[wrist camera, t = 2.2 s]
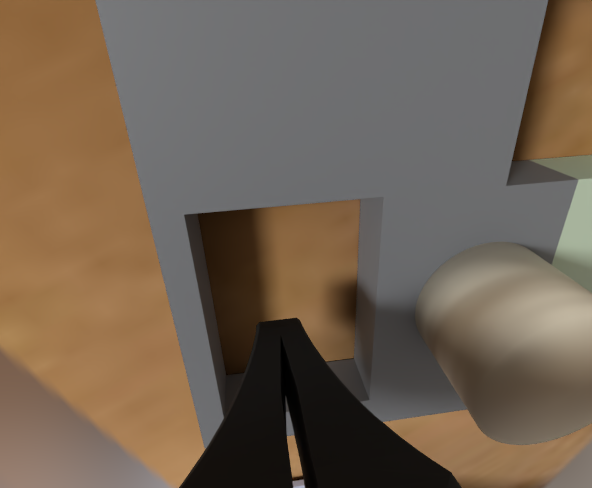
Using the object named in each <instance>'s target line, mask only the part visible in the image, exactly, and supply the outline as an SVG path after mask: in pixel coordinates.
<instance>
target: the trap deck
mask: <svg viewBox="0 0 592 488" xmlns="http://www.w3.org/2000/svg"><path fill="white" fill-rule="evenodd" d="M96 4H97V9H98V13H99V17H100V21H101V25H102V29H103V33H104V37H105V41H106V45H107V50H108V54H109V58H110V62H111V66H112V70H113V74H114V78H115V82H116V86H117V90H118V95H119V99H120V103H121V107H122V111H123V115H124V119H125V123H126V127H127V131H128V136H129V140H130V144H131V148H132V152H133V156H134V160H135V164H136V168H137V172H138V177H139V181H140V185H141V189H142V193H143V197H144V201H145V205H146V209H147V213H148V218H149V222H150V226H151V230H152V234H153V238H154V242H155V246H156V250H157V254H158V259H159V263H160V267H161V271H162V275H163V279H164V283H165V287H166V291H167V295H168V299H169V304H170V308H171V312H172V316H173V320H174V324H175V328H176V332H177V336H178V340H179V345H180V349H181V353H182V357H183V361H184V365H185V369H186V373H187V377H188V381H189V386H190V390H191V394H192V398H193V402H194V406H195V410H196V414H197V418H198V422H199V427H200V431H201V435H202V439H203V443H204V447H205V448H207V446H208V445H209V443H210V442H211V440H212V438H213V436H214V435H215V433H216V431H217V430H218V428H219V426H220V424H221V423H222V421H223V419H224V417H225V415H226V413H227V411H228V409H229V407H230V405H231V403H232V401H233V399H234V397H235V394H236V392H237V390H238V387H239V385H240V382H241V380H242V378H243V375H244V373H240V374H232V375H226V372H225V366H224V360H223V355H222V349H221V343H220V338H219V332H218V327H217V321H216V315H215V310H214V304H213V298H212V293H211V287H210V281H209V276H208V270H207V264H206V259H205V253H204V248H203V242H202V236H201V231H200V225H199V219H198V214H197V213H208V212H219V211H230V210H241V209H253V208H264V207H275V206H286V205H298V204H309V203H320V202H331V201H343V200H354V199H360V224H359V249H358V274H357V299H356V324H355V349H354V359H347V360H339V361H332V362H326V363H327V365H328V366H329V367H330V368H331V370H332V371H333V372H334V373H335V375H336V376H337V377H338V378H339V379H340V381H341V382H342V383H343V384H344V385H345V386H346V387H347V388H348V390H349V391H350V392H351V393H352V394H353V395H354V396H355V397H356V398H357V399H358V400H359V401H360V402H361V403H362V404H363V405H364V406H365V407H366V408H367V409H368V410H369V411H370V412H371V413H373V414H374V415H375V416H376V417H377V418H378V419H379V420H381V421H382V422H385V421H392V420H398V419H405V418H412V417H419V416H425V415H432V414H439V413H446V412H452V411H459V410H466V409H467V408H466V406H465V405H464V403H463V402H462V400H461V398H460V397H459V395H458V394H457V392H456V391H455V389H454V387H453V386H452V384H451V383H450V381H449V379H448V378H447V376H446V375H445V373H444V371H443V370H442V368H441V367H440V365H439V364H438V362H437V360H436V359H435V357H434V356H433V354H432V352H431V351H430V349H429V348H428V346H427V344H426V343H425V341H424V340H423V338H422V337H421V335H420V333H419V331H418V329H417V326H416V321H415V308H416V304H417V300H418V297H419V295H420V293H421V291H422V289H423V287H424V285H425V284H426V282H427V281H428V279H429V278H430V277H431V276H432V274H433V273H434V272H435V271H436V270H437V269H438V268H439V267H440V266H441V265H443V264H444V263H445V262H446V261H448V260H449V259H451V258H452V257H454V256H455V255H457V254H459V253H460V252H462V251H464V250H466V249H469V248H471V247H474V246H477V245H481V244H484V243H490V242H511V243H515V244H519V245H522V246H524V247H526V248H528V249H529V250H531V251H532V252H534V253H535V254H536V255H538V256H539V257H541V258H542V259H544V260H545V261H547V262H548V263H549V264H551V265H552V266H554V267H555V268H557V269H558V270H559V271H561V272H562V273H564V274H565V275H567V276H568V277H569V278H571V279H572V280H574V281H575V282H577V283H578V284H580V285H581V286H582V287H584V288H585V289H587V290H588V291H590V292H591V293H592V155H584V156H572V157H559V158H547V159H535V160H523V161H512V158H513V154H514V149H515V145H516V140H517V136H518V131H519V127H520V123H521V118H522V114H523V109H524V105H525V101H526V96H527V92H528V87H529V83H530V79H531V74H532V70H533V65H534V61H535V57H536V52H537V48H538V43H539V39H540V35H541V30H542V26H543V21H544V17H545V12H546V8H547V4H548V0H96ZM286 428H287V436H291V435H294V431H293V426H292V422H291V417H290V413H289V409H288V404H287V400H286Z"/></svg>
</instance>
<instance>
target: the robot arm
mask: <svg viewBox="0 0 592 488" xmlns="http://www.w3.org/2000/svg"><path fill="white" fill-rule="evenodd" d="M286 400H287V404H288V409H289V413H290V417H291V422H292V426H293V431H294V435H295V439H296V444H297V448H298V453H299V457H300V462H301V467H302V472H303V478H304V479H303V480H297V481H292V474H291V467H290V459H289V452H288V444H287V428H286ZM179 488H461V486H460V485H459V483H458V482H457V480H456V479H455V477H454V476H453V475H452V473H451V472H450V471H448V470H447V469H445V468H444V467H442V466H440V465H439V464H437V463H436V462H434V461H433V460H431V459H430V458H428V457H427V456H425V455H424V454H423V453H421V452H420V451H418V450H417V449H416V448H414V447H413V446H412V445H410V444H409V443H408V442H406V441H405V440H404V439H402V438H401V437H400V436H398V435H397V434H396V433H395V432H394V431H392V430H391V429H390V428H389V427H388V426H387V425H385V424H384V423H383V422H382V421H381V420H379V419H378V418H377V417H376V416H375V415H374V414H373V413H371V412H370V411H369V410H368V409H367V408H366V407H365V406H364V405H363V404H362V403H361V402H360V401H359V400H358V399H357V398H356V397H355V396H354V395H353V394H352V393H351V392H350V391H349V390H348V388H347V387H346V386H345V385H344V384H343V383H342V382H341V381H340V379H339V378H338V377H337V376H336V375H335V373H334V372H333V371H332V370H331V368H330V367H329V366H328V365H327V363H326V362H325V360H324V359H323V358H322V356H321V355H320V354H319V352H318V351H317V349H316V348H315V346H314V345H313V343H312V342H311V340H310V339H309V337H308V335H307V334H306V332H305V330H304V328H303V326H302V324H301V322H300V320H299V319H297V318H291V319H283V320H274V321H266V322H259V323H258V324H257V325H256V335H255V340H254V344H253V348H252V352H251V355H250V358H249V361H248V364H247V367H246V370H245V373H244V375H243V378H242V380H241V382H240V385H239V387H238V390H237V392H236V394H235V397H234V399H233V401H232V403H231V405H230V407H229V409H228V411H227V413H226V415H225V417H224V419H223V421H222V423H221V424H220V426H219V428H218V430H217V431H216V433H215V435H214V436H213V438H212V440H211V442H210V443H209V445H208V446H207V448H206V450H205V451H204V453H203V454H202V456H201V457H200V459H199V460H198V461H197V463H196V464H195V466H194V467H193V469H192V470H191V472H190V473H189V475H188V476H187V477H186V479H185V480H184V482H183V483H182V484H181V486H180V487H179Z"/></svg>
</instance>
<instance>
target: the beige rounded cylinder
mask: <svg viewBox="0 0 592 488" xmlns="http://www.w3.org/2000/svg"><path fill="white" fill-rule="evenodd" d="M415 321H416V326H417V329H418V331H419V333H420V335H421V337H422V338H423V340H424V341H425V343H426V344H427V346H428V348H429V349H430V351H431V352H432V354H433V356H434V357H435V359H436V360H437V362H438V364H439V365H440V367H441V368H442V370H443V371H444V373H445V375H446V376H447V378H448V379H449V381H450V383H451V384H452V386H453V387H454V389H455V391H456V392H457V394H458V395H459V397H460V398H461V400H462V402H463V403H464V405H465V406H466V408H467V410H468V411H469V413H470V414H471V416H472V417H473V419H474V421H475V422H476V424H477V425H478V427H479V428H480V430H481V431H482V432H483V433H484V434H485V435H487V436H488V437H490V438H491V439H493V440H495V441H498V442H501V443H506V444H513V445H529V444H537V443H542V442H547V441H551V440H554V439H558V438H560V437H563V436H566V435H569V434H571V433H573V432H575V431H578V430H580V429H581V428H583V427H585V426H587V425H589V424H591V423H592V293H591V292H590V291H588V290H587V289H585V288H584V287H582V286H581V285H580V284H578V283H577V282H575V281H574V280H572V279H571V278H569V277H568V276H567V275H565V274H564V273H562V272H561V271H559V270H558V269H557V268H555V267H554V266H552V265H551V264H549V263H548V262H547V261H545V260H544V259H542V258H541V257H539V256H538V255H536V254H535V253H534V252H532V251H531V250H529V249H528V248H526V247H524V246H522V245H519V244H515V243H511V242H490V243H484V244H481V245H477V246H474V247H471V248H469V249H466V250H464V251H462V252H460V253H459V254H457V255H455V256H454V257H452V258H451V259H449V260H448V261H446V262H445V263H444V264H443V265H441V266H440V267H439V268H438V269H437V270H436V271H435V272H434V273H433V274H432V276H431V277H430V278H429V279H428V281H427V282H426V284H425V285H424V287H423V289H422V291H421V293H420V295H419V297H418V300H417V304H416V308H415Z"/></svg>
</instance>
